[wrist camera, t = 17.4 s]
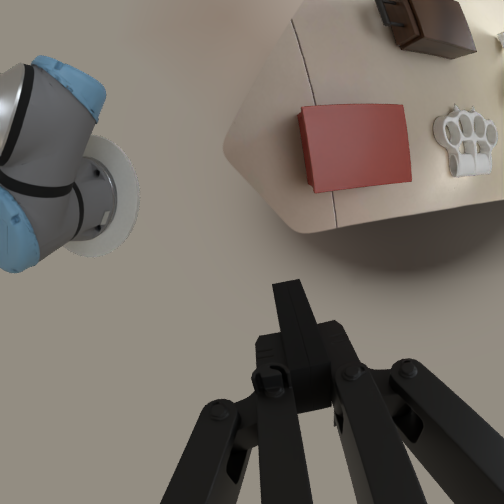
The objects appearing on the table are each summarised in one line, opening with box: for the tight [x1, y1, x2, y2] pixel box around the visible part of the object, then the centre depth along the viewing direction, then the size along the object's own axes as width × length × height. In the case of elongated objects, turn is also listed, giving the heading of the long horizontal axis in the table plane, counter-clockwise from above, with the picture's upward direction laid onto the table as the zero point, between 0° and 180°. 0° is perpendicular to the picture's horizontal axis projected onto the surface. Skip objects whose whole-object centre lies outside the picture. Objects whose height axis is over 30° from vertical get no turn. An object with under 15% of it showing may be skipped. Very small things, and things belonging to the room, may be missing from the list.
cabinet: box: [400, 0, 477, 59], centre depth 29 cm, size 14×12×9 cm
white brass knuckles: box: [433, 103, 498, 177], centre depth 39 cm, size 3×18×15 cm
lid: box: [301, 104, 412, 193], centre depth 34 cm, size 16×12×1 cm
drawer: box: [375, 0, 421, 46], centre depth 29 cm, size 17×10×7 cm, turn 100°
